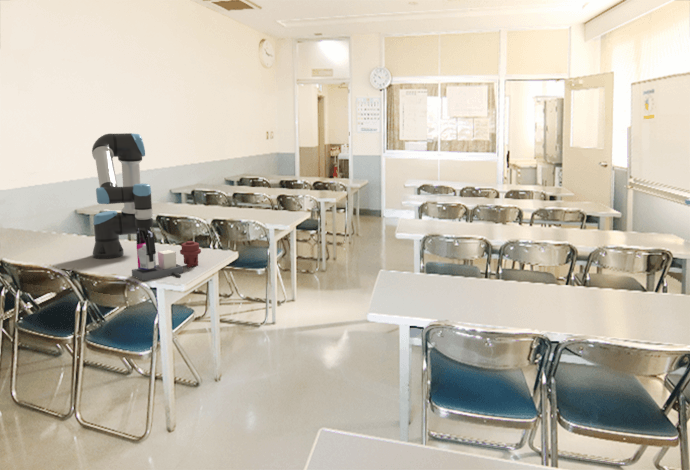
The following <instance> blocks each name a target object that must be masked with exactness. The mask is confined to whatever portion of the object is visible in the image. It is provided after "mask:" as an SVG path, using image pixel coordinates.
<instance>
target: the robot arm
mask: <svg viewBox="0 0 690 470" xmlns="http://www.w3.org/2000/svg"><path fill="white" fill-rule="evenodd" d="M91 154H92V158H93V159H94V160H95V165H96V171H97V179H98V185H99V187H97V188H96V189H95V195H96V202H97V203H98V204H99V205H112V204H123V208H121V212H120V213H118V212H117V211H116V210H108V211H107V210H106V211H102V212H99V213H96V214H94V216H93V224H92V225H93V228H94V240H95V241H94V246H93V248H92V249H93V250H92V257H93V258H94V259H100V260H101V259H114V258H118V257H122V256H124V255H125V252H124V248H123V246H122V244H121V242H120V236H126V235H135V236H136V237H135V238H136V245H137V244H141V243H145V244H146V246H147V252H148V254H146V255H147V264H148V269H151V268H154V257H153V254H155V255H156V253H157V252H156V244H155V232H154V231H153V232H152V231H151V228H152V227H153V226H154V219H153V206H152V205H153V203H152V202H153V201H152V189H151V185H150V183H141V172H140V171H141V170H140V169H141V168H140V163H141V162H142V161H143V158H144V157H146V149H145V144H144V140H143V138H142V135H141V134H139V133H130V132H129V133H125V132H124V133H105V134H103V135H101V136H100V137H98V138H97V139H96V140H95V141H94V143H93V145H92V149H91ZM113 158H117V159H118V161H119V162H120V163H121V174H122V175H121V176H122V186H118V182H117V177H116V170H115V167H114V162H113V161H114V160H113Z"/></svg>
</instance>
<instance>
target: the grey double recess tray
mask: <svg viewBox="0 0 690 470" xmlns="http://www.w3.org/2000/svg"><path fill="white" fill-rule="evenodd" d="M157 258H158V259H157V260H158V264H156V267H155V268H151V269H148V270H145V269H139V268H138V267H137V268H133V269H132V268H131V275H132V276H131V277H134V278H136V277H137V278H136V279H138V278H139V279H138V280H140V281H142V282H145V281H149V280H154V279H158V278H163V277H169V276H176V277H178V278H181V277H182V275H181V274H183V273H184V266H182V265H180V264H177V254H176V251H173V250H171V249H167V250H160V251H157Z"/></svg>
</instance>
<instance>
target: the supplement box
mask: <svg viewBox="0 0 690 470" xmlns="http://www.w3.org/2000/svg"><path fill="white" fill-rule="evenodd" d="M136 251H137V252H136V253H137V258H136V259H137V269H138V268H139V269H145V270H148V264H147V255H146V254H148V252H147V246H146V244H145V243H141V244H137V243H136ZM153 257H154V268H155V267H156V265H157V264H156V263H157V261H156V254H153Z"/></svg>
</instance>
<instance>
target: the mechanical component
mask: <svg viewBox="0 0 690 470" xmlns="http://www.w3.org/2000/svg"><path fill="white" fill-rule="evenodd" d="M201 253H202V250H201V248H200V243H199V242H196V241H193V240H188V241H186V242H183V243H181V249H180V250H179V254H180V255H181V256H182V257H183V264H184V265H186V267H187V268H191V267H196V266H199V255H200V254H201Z"/></svg>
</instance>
